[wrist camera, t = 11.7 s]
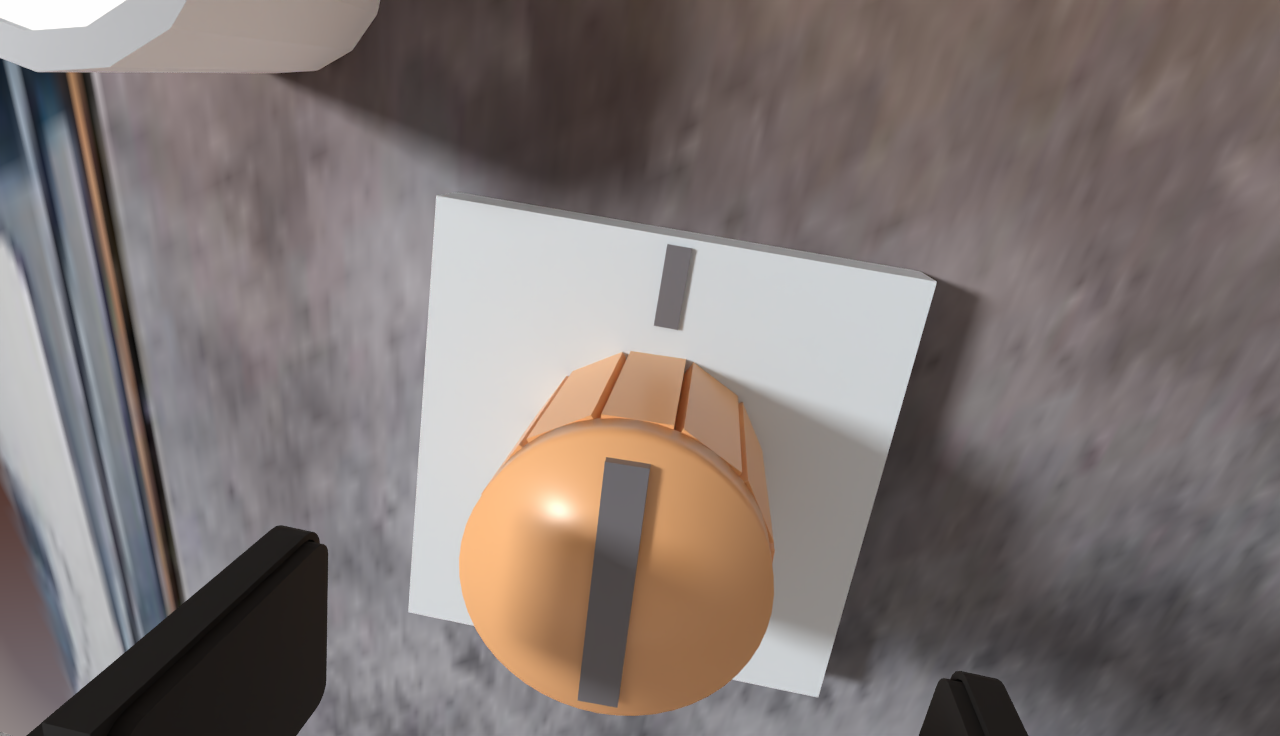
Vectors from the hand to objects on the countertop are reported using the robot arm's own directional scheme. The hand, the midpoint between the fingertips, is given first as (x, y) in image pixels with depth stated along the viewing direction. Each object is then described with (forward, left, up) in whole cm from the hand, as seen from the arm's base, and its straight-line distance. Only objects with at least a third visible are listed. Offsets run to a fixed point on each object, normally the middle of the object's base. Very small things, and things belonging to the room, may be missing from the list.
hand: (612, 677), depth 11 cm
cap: (0, 0, -8) cm, 8 cm away
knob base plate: (0, 0, -10) cm, 10 cm away
